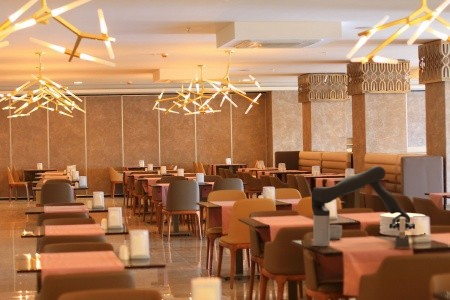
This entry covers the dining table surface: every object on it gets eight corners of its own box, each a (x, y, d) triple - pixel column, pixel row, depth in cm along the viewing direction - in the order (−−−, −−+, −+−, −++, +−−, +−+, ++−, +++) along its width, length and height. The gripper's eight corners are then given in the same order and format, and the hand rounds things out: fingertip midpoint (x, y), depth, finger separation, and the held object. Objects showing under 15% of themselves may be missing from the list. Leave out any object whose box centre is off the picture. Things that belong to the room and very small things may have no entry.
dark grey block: (409, 248, 503) (409, 238, 503) (395, 248, 504) (395, 238, 504) (409, 246, 513) (409, 236, 513) (394, 245, 514) (394, 236, 514)
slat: (404, 245, 506) (405, 218, 505) (399, 245, 506) (399, 218, 506) (404, 244, 511) (405, 217, 510) (399, 243, 511) (399, 217, 511)
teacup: (337, 240, 536) (337, 227, 536) (320, 239, 542) (320, 225, 542) (347, 237, 548) (347, 224, 548) (330, 236, 554) (330, 223, 554)
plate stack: (422, 230, 583) (422, 213, 583) (427, 236, 555) (428, 217, 555) (378, 230, 586) (378, 212, 586) (381, 235, 558) (381, 217, 558)
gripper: (389, 217, 523) (389, 220, 507) (414, 217, 521) (415, 220, 505) (389, 230, 524) (389, 233, 508) (414, 230, 521) (415, 234, 505)
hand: (402, 227), depth 506 cm, fingers open, 8 cm apart
